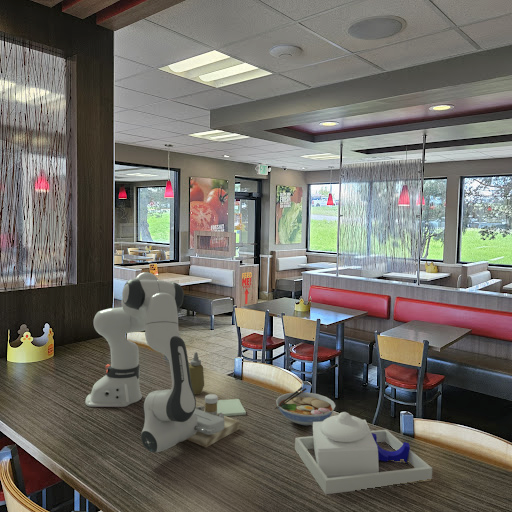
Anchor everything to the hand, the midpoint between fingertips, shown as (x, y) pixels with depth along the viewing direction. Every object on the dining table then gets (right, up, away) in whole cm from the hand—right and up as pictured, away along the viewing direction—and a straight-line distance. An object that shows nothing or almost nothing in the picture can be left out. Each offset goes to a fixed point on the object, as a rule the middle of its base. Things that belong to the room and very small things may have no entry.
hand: (212, 411), depth 161 cm
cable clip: (+58, -10, -16) cm, 61 cm away
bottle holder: (-1, -8, 0) cm, 8 cm away
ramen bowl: (+34, -8, +12) cm, 37 cm away
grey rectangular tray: (+48, -10, -19) cm, 53 cm away
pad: (+3, -6, +21) cm, 22 cm away
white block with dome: (+43, -9, -19) cm, 48 cm away
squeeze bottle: (-11, -5, +38) cm, 40 cm away
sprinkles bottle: (-1, -8, 0) cm, 8 cm away
